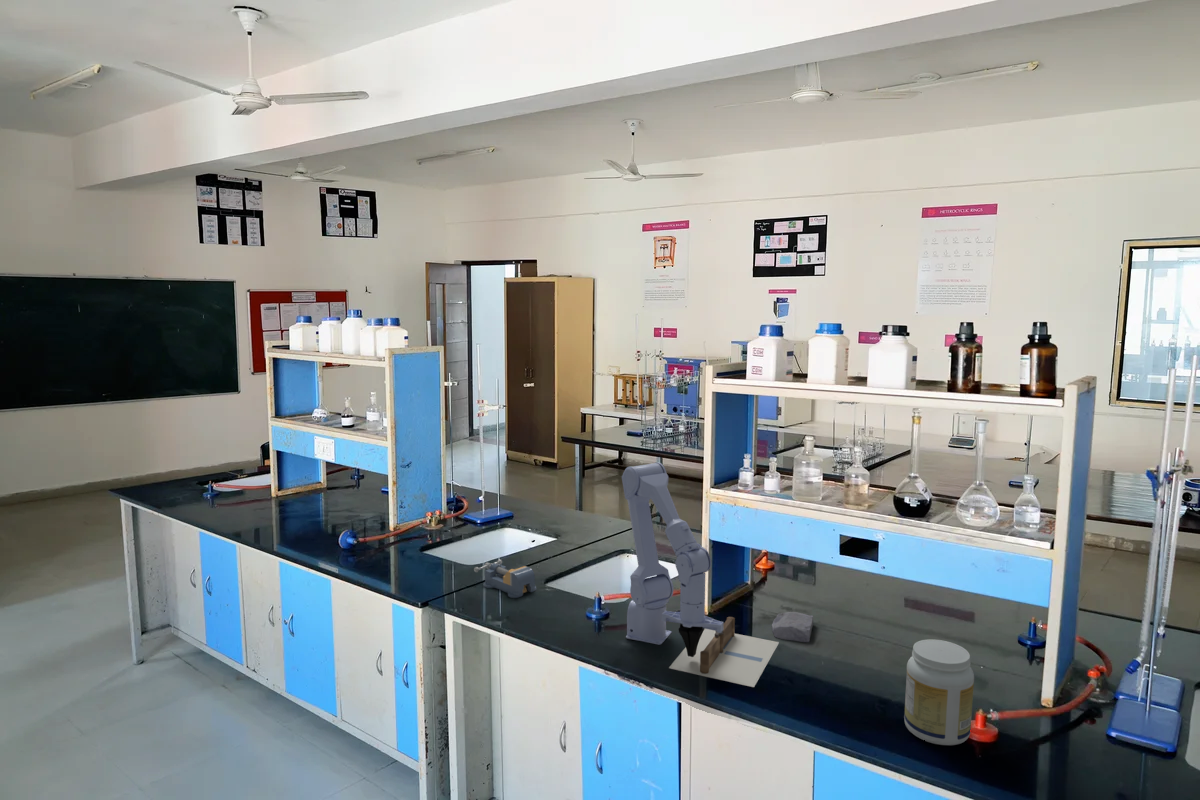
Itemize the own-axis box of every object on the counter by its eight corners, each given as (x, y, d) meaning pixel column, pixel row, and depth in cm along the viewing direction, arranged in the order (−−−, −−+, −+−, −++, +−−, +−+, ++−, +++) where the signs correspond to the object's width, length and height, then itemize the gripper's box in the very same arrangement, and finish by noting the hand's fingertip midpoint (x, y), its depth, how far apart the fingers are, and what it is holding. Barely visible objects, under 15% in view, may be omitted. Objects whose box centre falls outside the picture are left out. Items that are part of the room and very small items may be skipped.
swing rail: (716, 648, 189) (716, 627, 188) (724, 649, 188) (724, 629, 187) (698, 672, 177) (699, 650, 176) (707, 674, 176) (707, 652, 176)
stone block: (772, 646, 195) (812, 645, 192) (768, 628, 195) (809, 626, 191) (777, 628, 206) (815, 626, 203) (774, 611, 206) (812, 608, 203)
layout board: (668, 669, 180) (668, 667, 180) (702, 628, 201) (702, 626, 201) (753, 688, 171) (753, 687, 171) (779, 643, 192) (779, 642, 192)
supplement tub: (951, 713, 161) (957, 636, 159) (982, 747, 149) (988, 664, 147) (893, 714, 161) (898, 637, 158) (919, 749, 149) (924, 666, 146)
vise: (540, 589, 228) (539, 567, 227) (513, 599, 220) (512, 577, 219) (500, 574, 240) (499, 553, 239) (473, 583, 232) (472, 562, 231)
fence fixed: (713, 652, 187) (714, 633, 187) (727, 633, 197) (728, 615, 197) (721, 653, 186) (722, 635, 186) (735, 634, 197) (735, 617, 196)
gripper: (657, 600, 180) (656, 655, 182) (717, 611, 174) (716, 668, 176) (668, 590, 187) (667, 643, 189) (726, 600, 180) (725, 655, 182)
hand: (691, 654), depth 183 cm, fingers closed
